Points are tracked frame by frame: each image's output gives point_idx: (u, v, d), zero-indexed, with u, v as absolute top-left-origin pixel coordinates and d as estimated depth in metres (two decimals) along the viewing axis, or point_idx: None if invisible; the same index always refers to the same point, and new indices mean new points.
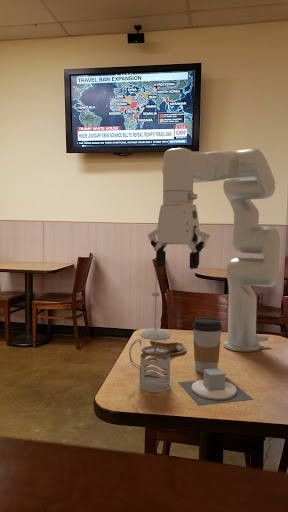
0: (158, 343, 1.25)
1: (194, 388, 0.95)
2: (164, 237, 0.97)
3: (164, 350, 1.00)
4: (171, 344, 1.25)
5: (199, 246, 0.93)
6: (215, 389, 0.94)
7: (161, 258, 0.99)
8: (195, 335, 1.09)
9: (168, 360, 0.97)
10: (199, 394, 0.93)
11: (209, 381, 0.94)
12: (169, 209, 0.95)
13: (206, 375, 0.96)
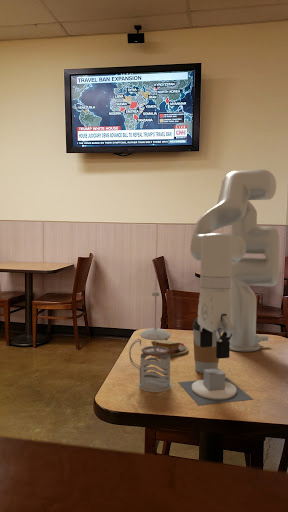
0: (160, 343, 1.24)
1: (194, 388, 0.95)
2: None
3: (164, 350, 1.00)
4: (173, 344, 1.25)
5: None
6: (215, 389, 0.94)
7: None
8: (195, 335, 1.09)
9: (168, 360, 0.97)
10: (199, 394, 0.93)
11: (209, 381, 0.94)
12: None
13: (206, 375, 0.96)
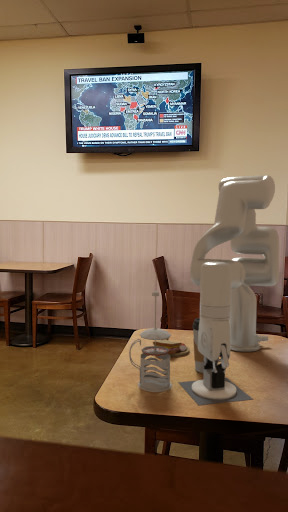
0: (162, 344, 1.24)
1: (194, 388, 0.95)
2: None
3: (164, 350, 1.00)
4: (175, 344, 1.25)
5: None
6: (215, 389, 0.94)
7: None
8: (195, 335, 1.09)
9: (168, 360, 0.97)
10: (199, 394, 0.93)
11: (209, 381, 0.94)
12: None
13: (206, 375, 0.96)
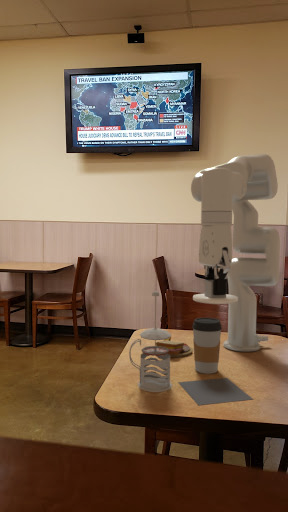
0: (166, 344, 1.24)
1: (195, 297, 0.95)
2: None
3: (164, 350, 1.00)
4: (178, 345, 1.25)
5: None
6: (216, 297, 0.93)
7: None
8: (195, 335, 1.09)
9: (168, 360, 0.97)
10: (200, 300, 0.92)
11: (210, 289, 0.93)
12: None
13: (207, 284, 0.95)
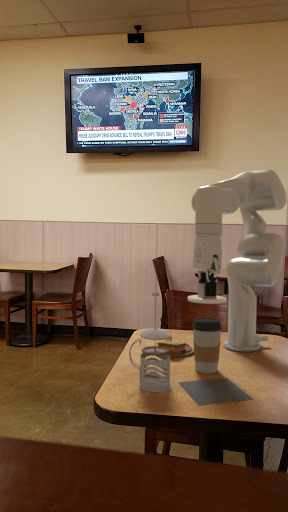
0: (168, 344, 1.23)
1: (189, 297, 1.09)
2: None
3: (164, 350, 1.00)
4: (180, 345, 1.24)
5: None
6: (208, 297, 1.07)
7: None
8: (195, 335, 1.09)
9: (168, 360, 0.97)
10: (194, 300, 1.06)
11: (202, 290, 1.07)
12: None
13: (200, 286, 1.09)
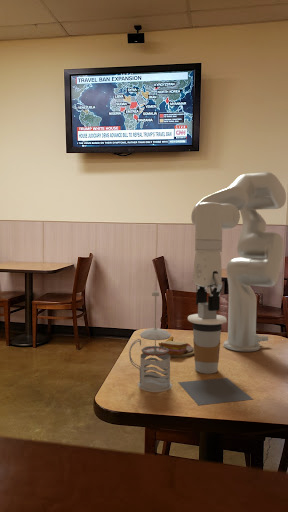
0: (170, 345, 1.23)
1: (190, 318, 1.09)
2: None
3: (164, 350, 1.00)
4: (182, 345, 1.24)
5: None
6: (208, 318, 1.08)
7: None
8: (195, 335, 1.09)
9: (168, 360, 0.97)
10: (194, 321, 1.06)
11: (202, 311, 1.08)
12: None
13: (200, 306, 1.09)
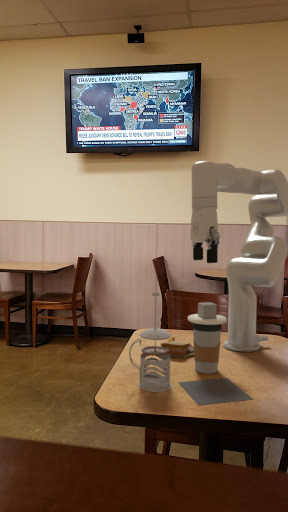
0: (172, 345, 1.23)
1: (190, 318, 1.09)
2: None
3: (164, 350, 1.00)
4: (185, 345, 1.24)
5: None
6: (208, 318, 1.08)
7: None
8: (195, 335, 1.09)
9: (168, 360, 0.97)
10: (194, 321, 1.06)
11: (202, 311, 1.08)
12: None
13: (200, 306, 1.09)
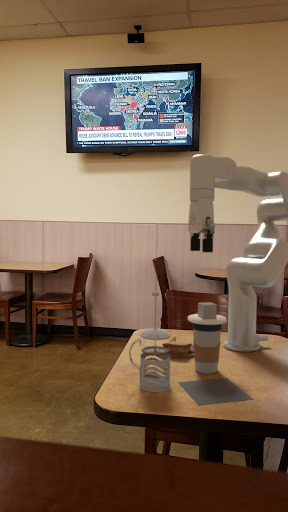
0: (175, 345, 1.23)
1: (190, 318, 1.09)
2: None
3: (164, 350, 1.00)
4: (187, 345, 1.24)
5: None
6: (208, 318, 1.08)
7: None
8: (195, 335, 1.09)
9: (168, 360, 0.97)
10: (194, 321, 1.06)
11: (202, 311, 1.08)
12: None
13: (200, 306, 1.09)
